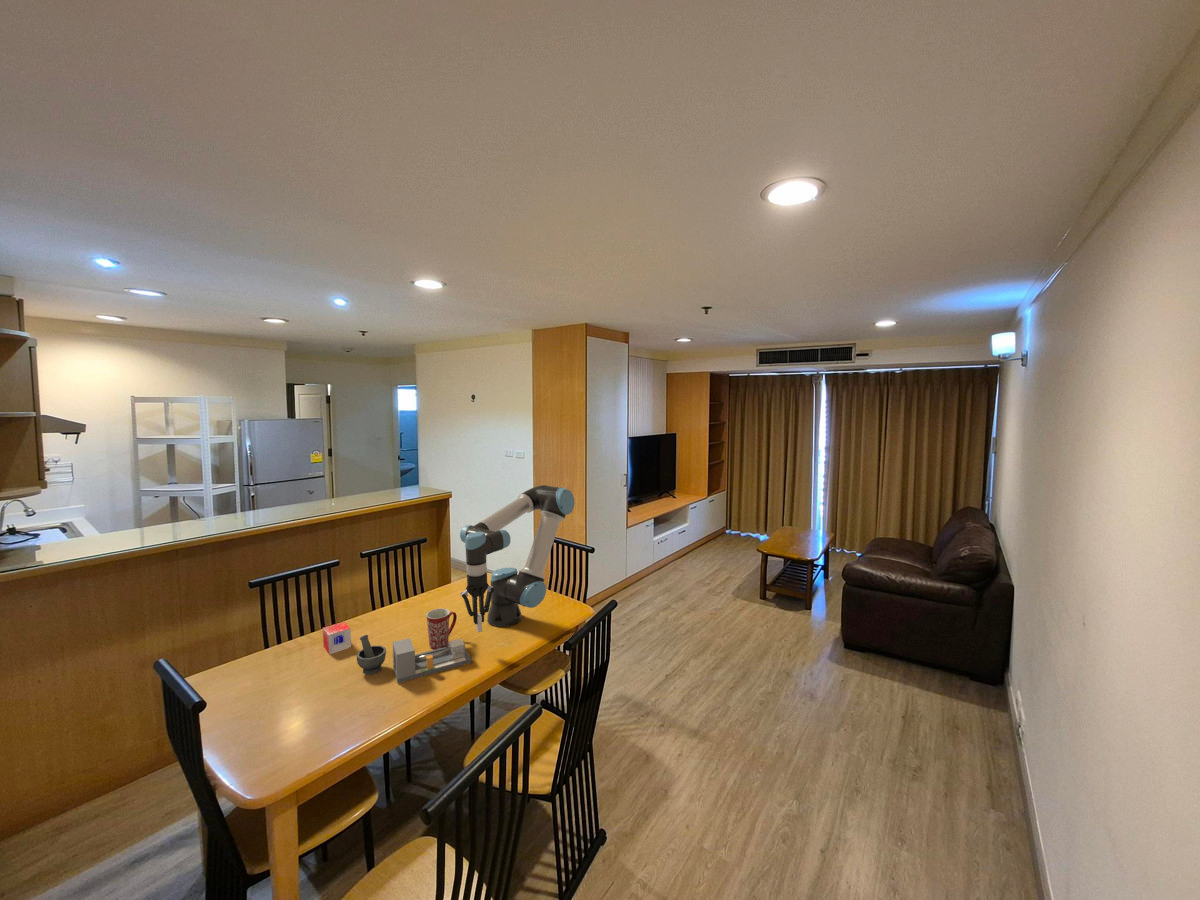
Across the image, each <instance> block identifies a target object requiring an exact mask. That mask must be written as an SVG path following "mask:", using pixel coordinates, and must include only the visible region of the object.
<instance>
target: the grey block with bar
mask: <svg viewBox="0 0 1200 900" xmlns="http://www.w3.org/2000/svg"><path fill="white" fill-rule="evenodd" d="M464 643H465V641H463V639H462V638H458V639H453V640H448V645H447V647H448V649H446V650H442V651H439V652H435V653H431V654H427V655H423V656H419V657H415V662H418V661H422V660H426V656H429V655H432V656H433V657H437V656H441V655H445V654H448V655H449V657H450V658H451V660H455V659H458V658H462V657H465V649H466V643H465V644H464Z"/></svg>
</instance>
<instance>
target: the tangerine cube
mask: <svg viewBox="0 0 1200 900" xmlns="http://www.w3.org/2000/svg"><path fill="white" fill-rule="evenodd" d="M426 667H427V669H431V668H433V656H432V655H429V656H426Z"/></svg>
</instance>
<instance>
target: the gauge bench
mask: <svg viewBox="0 0 1200 900" xmlns="http://www.w3.org/2000/svg"><path fill="white" fill-rule="evenodd" d="M464 644H465V645H466V643H465V642H464ZM446 649H448V646H446V647H444V648H440V649H432V650H428V651H424V652H421V653H417V654H416V650H415V646H414V645H413V643H412V640H411V638H410V637H408V638H404V639H401V640H396V641H393V642H392V665H393V673H394V676H395V679H396V683H397V684H400V683H403V682H407V681H411V680H414V679H418V678H421V677H425V676H429V675H432V674H437V673H441V672H442V671H443V672H444V671H447V670H451V669H454V668H458V667H461V666H465V665H468V663H469V664H472V657H471V656H470V654H469V653H468V651H467V649H466V648H465V657H462V658H458V659H455V660H451V658H450V657H449V655H448V654H445V655H441V656H437V657H433V668H431V669H427V667H426V660H422V661H418V662H415V657H419V656H423V655H427V654H431V653H435V652H439V651H442V650H446ZM464 664H465V665H464Z"/></svg>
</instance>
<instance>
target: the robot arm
mask: <svg viewBox="0 0 1200 900" xmlns="http://www.w3.org/2000/svg"><path fill="white" fill-rule="evenodd" d="M575 503H576V502H575V497H574V494H573V492H572V491H571V489H568V488H564V487H562V486H561V487H560V486H552V485H551V486H550V485H547V484H544V485H538V486H535V487H532V488H529V489H527V490H525V491H523V492H522V493H521V494H519V495H518V496H517V498H516V499H514V500H513V501H512V502H510V503H508V504H507V505H505V506H504V507H502V508H501V509H499V510H497V511H496V512H494V513H492V514H491V515H489V516H488V517H486V518H484V519H483V520H480V521H479V522H478V523H476V524H475V525H470V524H469V525H465V526H463V527H462V529H461V530H460V532H459V538H460V540H461V542H463V543H465V544H464V548H465V561H466V563H465V564H466V587H465V590H464V591H463V592H460V596H461V598H462V599H463V601H464V605H465V607H466V610H467V613H468V615H469V617H473V624H474V625H475V626H476V627H475V629H476V631H477V633H478V634H479V633H482V632H483V623H484V621H485V615H486V613H487V616H486V619H487V620H486V621H487V624H489V625H490V626H493V627H499V628H504V627H505V628H506V627H511V626H514V625H516V624H518V623H520V622H521V620H522V611H521V609H520V606H522V607H525V608H528V609H529V608H530V609H531V608H532V609H533V608H535V607H538V605H540V604H542V602H543V601H544V599H545V597H546V594H547V585H546V584H545V579H546V578H545V575H544V572H545V569H546V565H547V562H548V559H549V555H550V553H551V550H552V547H553V545H554V541H555V538H556V535H557V532H558V529H559V526H560V524H561V522H563V521H565V519H566V516H568V515H570V514H571V513H572V512H573V510H574V508H575ZM537 510H538V511H539V510H540V511H539V512H540V515H541V518H540V521H539V525H538V527H537V529H536V533H535V536H534V539H533V542H532V545H531V547H530V550H529V553H528V556H527V558H526V562H525V565H524V567H522V568H521V569H520V570H519V572H518V570H517V568H515V567H502V568H498V569H496V570H493V572H491V575H490V585H489V583H488V573H487V571H488V567H487V565H488V563H487V556H488V555H490V554H493V553H496V552H498V551H503V550H504V549H505V548H508V547H510V544H511V535H510V533H509V532H508V531H507V530H506V529H503V528H505V527H507V526H508V525H510V524H512V522H514V521H516V520H518V519H519V518H520V517H522V516H523V515H525V514H526V513H527V514H530V513H532V512H534V511H537ZM485 593H486V595H485ZM469 595H470V596H471V598H472V599H471V600H472V601H471V602H472V607H471V604H470V600H469V598H468V596H469ZM484 598H485V599H484ZM519 605H520V606H519ZM478 608H479V609H478Z"/></svg>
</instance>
